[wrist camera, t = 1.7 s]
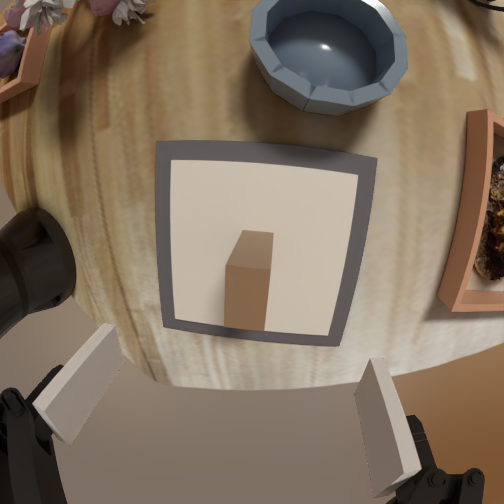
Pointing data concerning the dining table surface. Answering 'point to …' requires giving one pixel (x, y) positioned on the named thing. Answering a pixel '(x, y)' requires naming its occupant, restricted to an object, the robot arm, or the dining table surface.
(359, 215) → the rubber mat
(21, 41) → the flower
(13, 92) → the flower tray
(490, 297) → the cactus tray
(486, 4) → the clutch purse
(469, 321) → the dining table surface
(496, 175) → the cactus
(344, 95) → the bowl
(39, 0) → the flower
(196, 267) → the board
